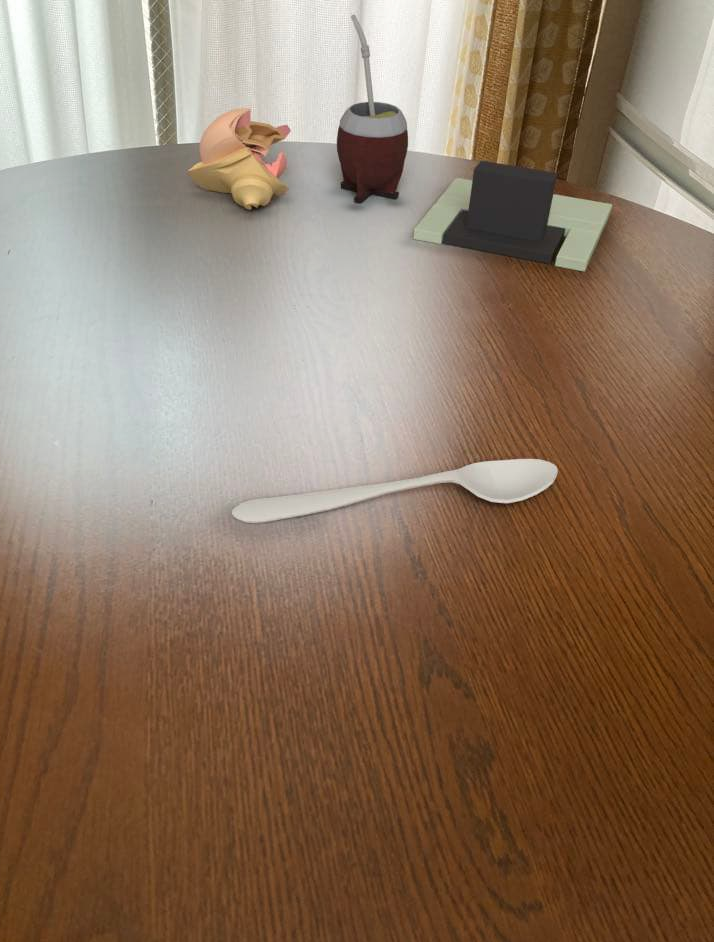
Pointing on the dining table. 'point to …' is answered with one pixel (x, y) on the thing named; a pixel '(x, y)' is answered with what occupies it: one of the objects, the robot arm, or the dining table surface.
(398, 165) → the mate gourd
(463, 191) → the sage stepped arch block
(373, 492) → the spoon
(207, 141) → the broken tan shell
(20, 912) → the dining table surface
